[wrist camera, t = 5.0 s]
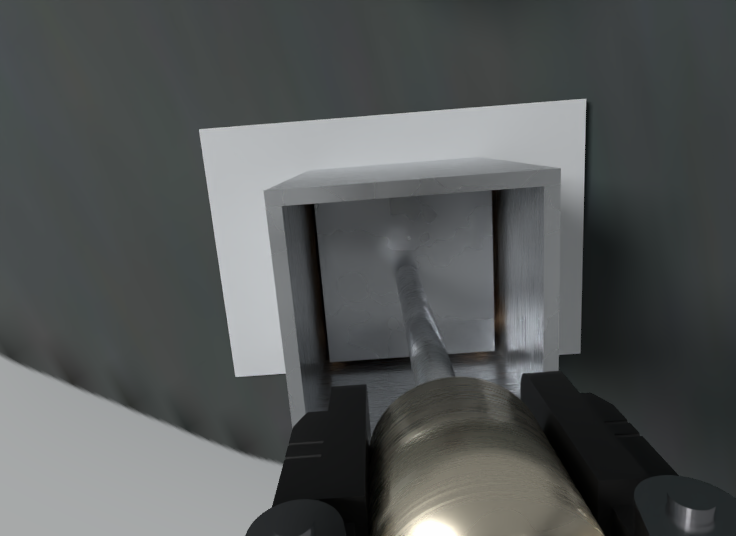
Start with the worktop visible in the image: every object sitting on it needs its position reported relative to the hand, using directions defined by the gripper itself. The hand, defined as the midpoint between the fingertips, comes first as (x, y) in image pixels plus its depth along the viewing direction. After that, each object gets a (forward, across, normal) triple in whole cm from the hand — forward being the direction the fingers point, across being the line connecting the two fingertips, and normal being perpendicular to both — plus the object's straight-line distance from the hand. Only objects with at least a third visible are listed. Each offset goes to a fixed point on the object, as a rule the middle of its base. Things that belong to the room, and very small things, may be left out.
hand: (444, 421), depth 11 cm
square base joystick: (+19, 0, 0) cm, 19 cm away
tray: (+19, 0, 0) cm, 19 cm away
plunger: (+12, 0, 0) cm, 12 cm away
